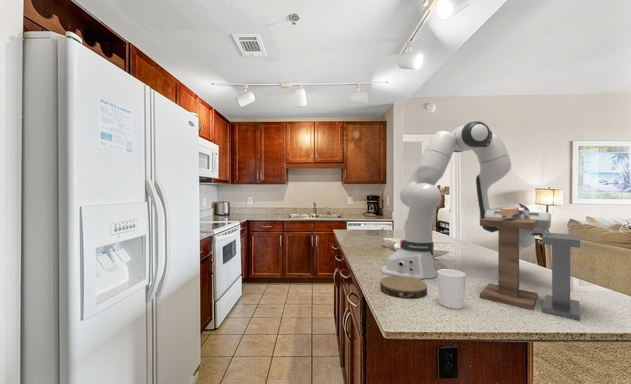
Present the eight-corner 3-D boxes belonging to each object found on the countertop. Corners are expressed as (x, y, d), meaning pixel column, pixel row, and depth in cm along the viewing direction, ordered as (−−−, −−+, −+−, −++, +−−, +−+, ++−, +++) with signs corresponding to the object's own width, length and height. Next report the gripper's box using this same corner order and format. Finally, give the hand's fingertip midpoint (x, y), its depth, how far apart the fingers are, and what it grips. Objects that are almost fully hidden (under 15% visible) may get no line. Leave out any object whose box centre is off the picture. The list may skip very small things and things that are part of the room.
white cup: (464, 312, 80) (464, 277, 80) (435, 306, 84) (435, 273, 84) (466, 303, 87) (466, 271, 87) (439, 297, 91) (439, 267, 91)
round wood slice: (435, 292, 97) (435, 283, 97) (412, 303, 87) (412, 294, 87) (396, 281, 109) (396, 273, 109) (371, 290, 99) (371, 282, 99)
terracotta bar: (510, 212, 104) (510, 206, 104) (520, 212, 102) (520, 207, 102) (499, 215, 88) (499, 208, 88) (511, 215, 86) (511, 209, 86)
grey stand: (545, 299, 90) (545, 232, 90) (579, 306, 85) (579, 234, 85) (542, 312, 80) (542, 237, 80) (580, 321, 74) (580, 240, 75)
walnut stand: (489, 287, 101) (489, 217, 101) (537, 297, 92) (537, 219, 92) (479, 298, 91) (479, 219, 91) (533, 310, 81) (533, 222, 81)
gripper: (488, 216, 116) (482, 200, 107) (552, 220, 102) (550, 202, 93) (486, 230, 114) (479, 214, 105) (551, 235, 100) (549, 218, 91)
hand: (513, 208), depth 99 cm, fingers closed on terracotta bar, 3 cm apart
